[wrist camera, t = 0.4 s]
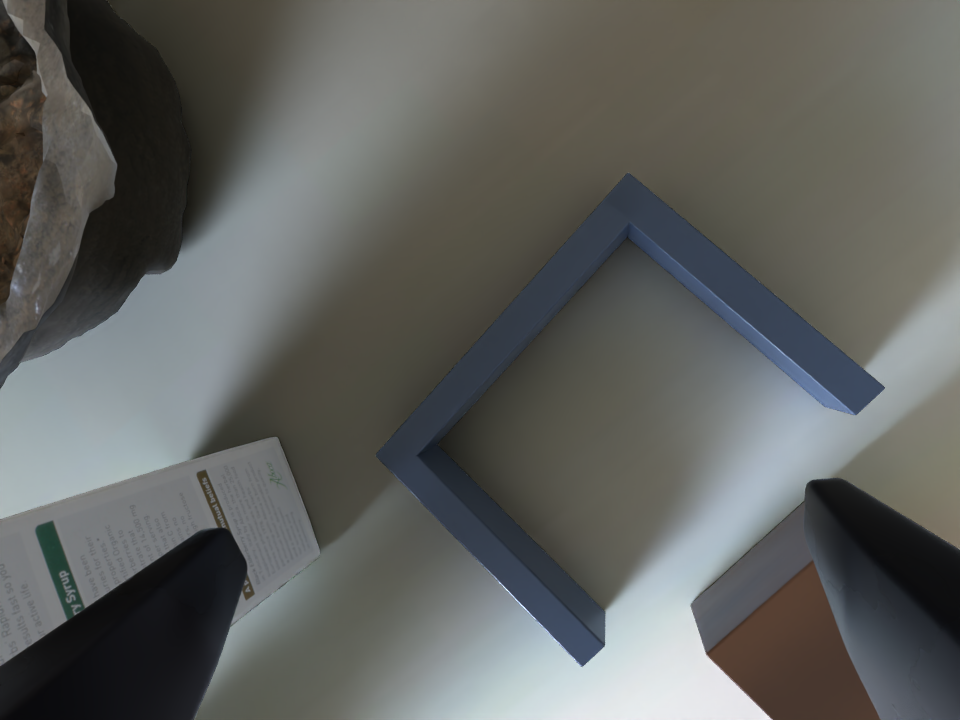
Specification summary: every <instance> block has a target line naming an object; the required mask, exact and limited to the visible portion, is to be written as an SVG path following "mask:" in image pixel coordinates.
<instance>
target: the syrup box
mask: <svg viewBox="0 0 960 720" xmlns="http://www.w3.org/2000/svg"><path fill="white" fill-rule="evenodd" d="M218 527H223V528H226V529H228V530H229V531H230V532H231V534H232V535H233V537H234V539H235V541H236V543H237V544H238V546H239V548H240V550H241V552H242V554H243V555H244V557H245V559H246V562H247V568H248V571H247V577H246V580H245V583H244V586H243V589H242V592H241V595H240V598H239V601H238V604H237V607H236V611H235V614H234V617H233V620H232V623H231V626H232V625H233V624H235V623H236V622H237V621H238V620H240V619H241V618H242V617H244V616H245V615H246V614H247V613H249V612H250V611H251V610H252V609H254V608H255V607H256V606H258V605H259V604H260V603H261V602H262V601H264V600H265V599H266V598H268V597H269V596H270V595H272V594H273V593H274V592H276V591H277V590H278V589H280V588H281V587H282V586H284V585H285V584H286V583H287V582H288V581H290V580H291V579H292V578H294V577H295V576H296V575H298V574H299V573H300V572H301V571H303V570H304V569H305V568H306V567H308V566H309V565H310V564H312V563H313V562H314V561H315V560H317V559H318V558H319V556H320V549H319V546H318V543H317V540H316V537H315V534H314V531H313V528H312V526H311V522H310V520H309V517H308V514H307V511H306V509H305V506H304V504H303V501H302V498H301V495H300V493H299V491H298V488H297V485H296V483H295V480H294V477H293V475H292V472H291V470H290V467H289V465H288V462H287V459H286V457H285V454H284V452H283V449H282V447H281V444H280V442H279V439H278V438H277V437H271V438H266V439H262V440H259V441H255V442H252V443H249V444H245V445H241V446H238V447H234V448H230V449H226V450H223V451H220V452H216V453H213V454H209V455H206V456H203V457H199V458H196V459H193V460H189V461H185V462H182V463H179V464H175V465H172V466H169V467H166V468H162V469H159V470H156V471H153V472H150V473H146V474H143V475H140V476H137V477H133V478H130V479H127V480H124V481H121V482H118V483H114V484H111V485H107V486H104V487H101V488H98V489H94V490H91V491H88V492H86V493H82V494H79V495H76V496H73V497H69V498H66V499H63V500H60V501H57V502H54V503H51V504H47V505H44V506H40V507H37V508H34V509H31V510H28V511H25V512H22V513H19V514H16V515H13V516H9V517H6V518H3V519H0V666H1V665H2V664H4V663H5V662H7V661H8V660H10V659H11V658H13V657H14V656H16V655H17V654H18V653H20V652H21V651H23V650H24V649H26V648H27V647H29V646H30V645H32V644H33V643H35V642H36V641H38V640H39V639H41V638H42V637H43V636H45V635H46V634H48V633H49V632H51V631H52V630H54V629H55V628H57V627H58V626H60V625H61V624H63V623H64V622H66V621H67V620H69V619H70V618H71V617H73V616H74V615H76V614H77V613H79V612H80V611H82V610H83V609H85V608H86V607H88V606H89V605H91V604H92V603H94V602H95V601H96V600H98V599H99V598H101V597H102V596H104V595H105V594H107V593H108V592H110V591H111V590H113V589H114V588H116V587H117V586H119V585H120V584H121V583H123V582H124V581H126V580H127V579H129V578H130V577H132V576H133V575H135V574H136V573H138V572H139V571H141V570H142V569H144V568H145V567H146V566H148V565H149V564H151V563H152V562H154V561H155V560H157V559H158V558H160V557H161V556H163V555H164V554H166V553H167V552H169V551H170V550H171V549H173V548H174V547H176V546H177V545H179V544H180V543H182V542H183V541H185V540H186V539H188V538H189V537H191V536H192V535H194V534H195V533H196V532H198V531H200V530H202V529H206V528H218ZM231 626H230V627H231Z"/></svg>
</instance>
